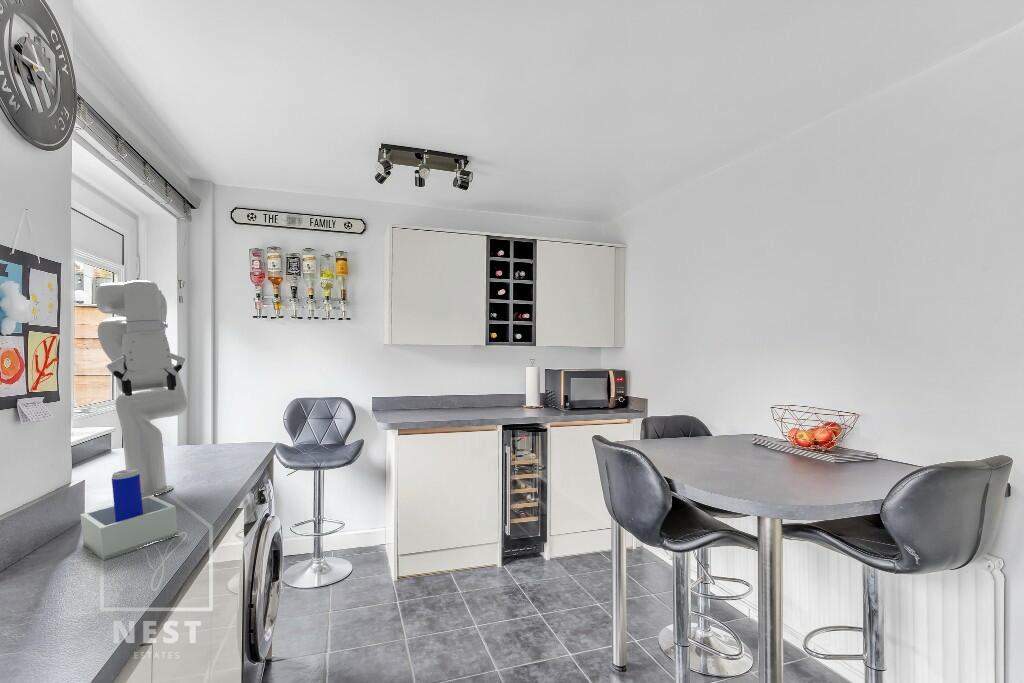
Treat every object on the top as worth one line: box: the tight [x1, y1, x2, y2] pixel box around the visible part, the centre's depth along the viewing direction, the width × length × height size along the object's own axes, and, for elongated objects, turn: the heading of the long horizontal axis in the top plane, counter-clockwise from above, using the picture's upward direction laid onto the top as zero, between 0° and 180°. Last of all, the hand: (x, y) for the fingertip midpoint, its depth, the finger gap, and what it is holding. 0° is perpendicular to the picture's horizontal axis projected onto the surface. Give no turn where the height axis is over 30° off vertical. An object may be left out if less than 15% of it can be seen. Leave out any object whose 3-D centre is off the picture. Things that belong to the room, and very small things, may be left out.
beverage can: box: [111, 469, 143, 522], centre depth 117 cm, size 5×5×15 cm
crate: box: [79, 495, 179, 561], centre depth 117 cm, size 16×14×7 cm
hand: (150, 392), depth 134 cm, fingers open, 9 cm apart
